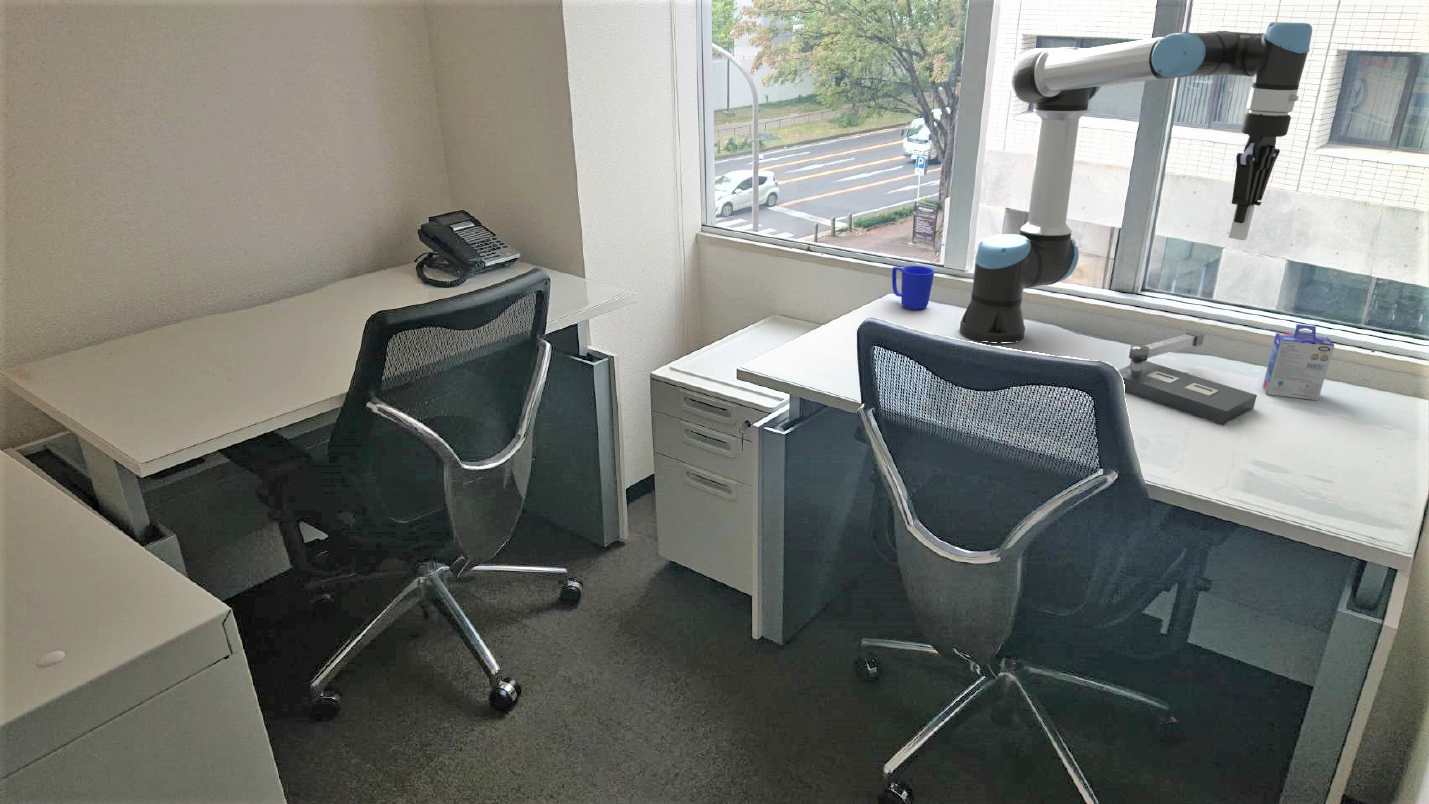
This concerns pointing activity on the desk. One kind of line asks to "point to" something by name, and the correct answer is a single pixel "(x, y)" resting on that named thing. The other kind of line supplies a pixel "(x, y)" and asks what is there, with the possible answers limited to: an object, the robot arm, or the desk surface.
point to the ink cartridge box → (1298, 364)
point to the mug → (914, 286)
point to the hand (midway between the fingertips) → (1237, 238)
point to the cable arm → (1165, 346)
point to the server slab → (1186, 392)
